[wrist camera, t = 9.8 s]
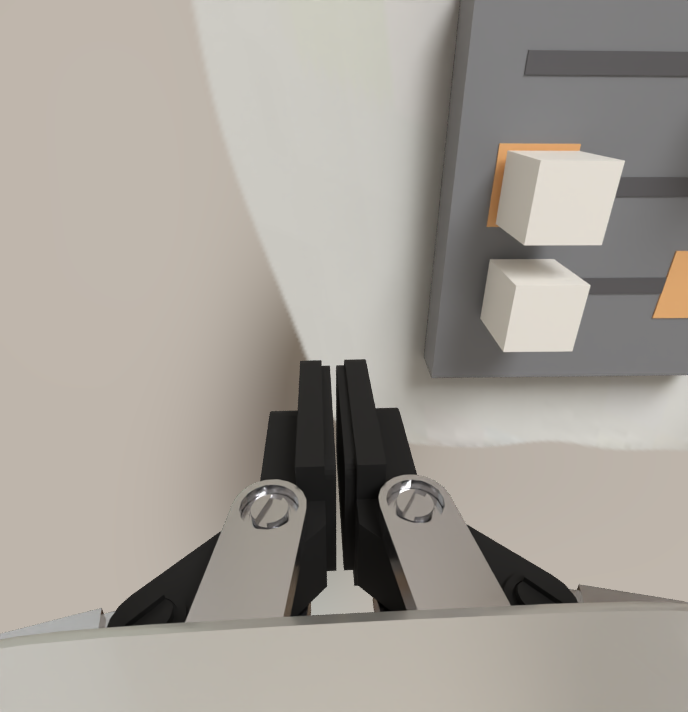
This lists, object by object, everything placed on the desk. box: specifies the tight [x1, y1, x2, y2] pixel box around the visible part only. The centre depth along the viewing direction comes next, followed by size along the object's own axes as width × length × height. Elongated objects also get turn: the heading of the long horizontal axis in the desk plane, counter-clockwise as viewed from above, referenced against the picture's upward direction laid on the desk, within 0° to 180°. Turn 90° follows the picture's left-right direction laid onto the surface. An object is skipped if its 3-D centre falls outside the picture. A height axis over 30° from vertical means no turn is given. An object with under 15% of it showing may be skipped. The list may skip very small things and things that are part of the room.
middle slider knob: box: [496, 151, 625, 245], centre depth 16 cm, size 3×3×3 cm
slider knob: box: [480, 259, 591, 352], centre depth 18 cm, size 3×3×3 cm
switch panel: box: [424, 0, 688, 378], centre depth 19 cm, size 14×15×2 cm
